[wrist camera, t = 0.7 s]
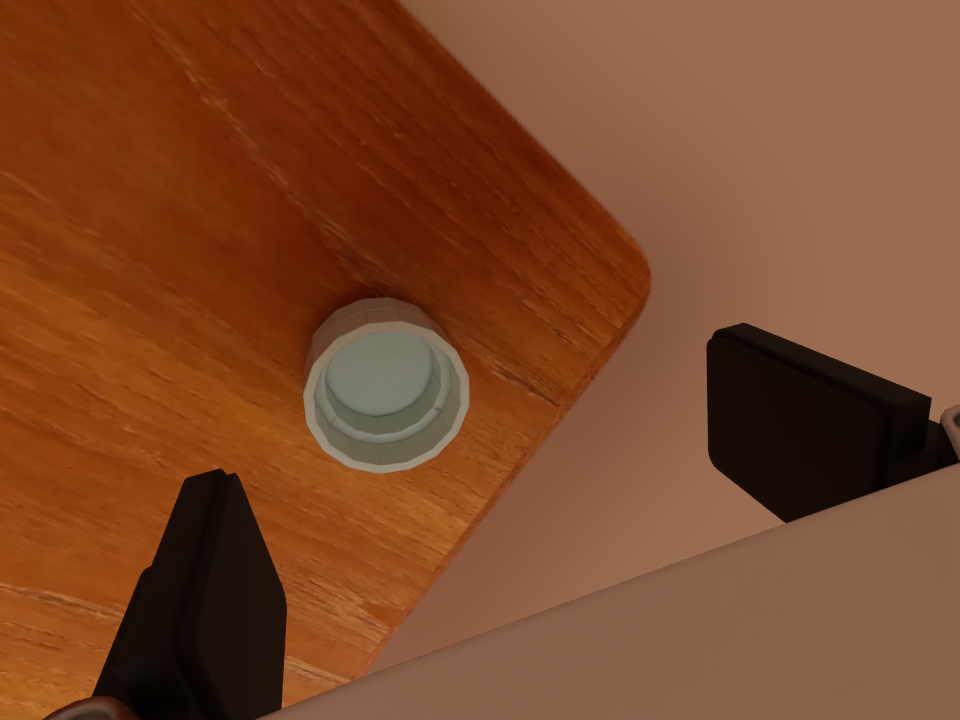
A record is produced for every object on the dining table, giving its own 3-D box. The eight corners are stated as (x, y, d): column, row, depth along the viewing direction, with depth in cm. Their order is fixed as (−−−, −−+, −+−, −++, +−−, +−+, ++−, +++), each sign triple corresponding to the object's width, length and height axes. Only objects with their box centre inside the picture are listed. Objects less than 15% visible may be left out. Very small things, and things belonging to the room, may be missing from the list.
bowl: (413, 270, 27) (430, 293, 23) (467, 388, 30) (492, 427, 25) (278, 334, 26) (271, 369, 22) (347, 448, 29) (352, 498, 25)
